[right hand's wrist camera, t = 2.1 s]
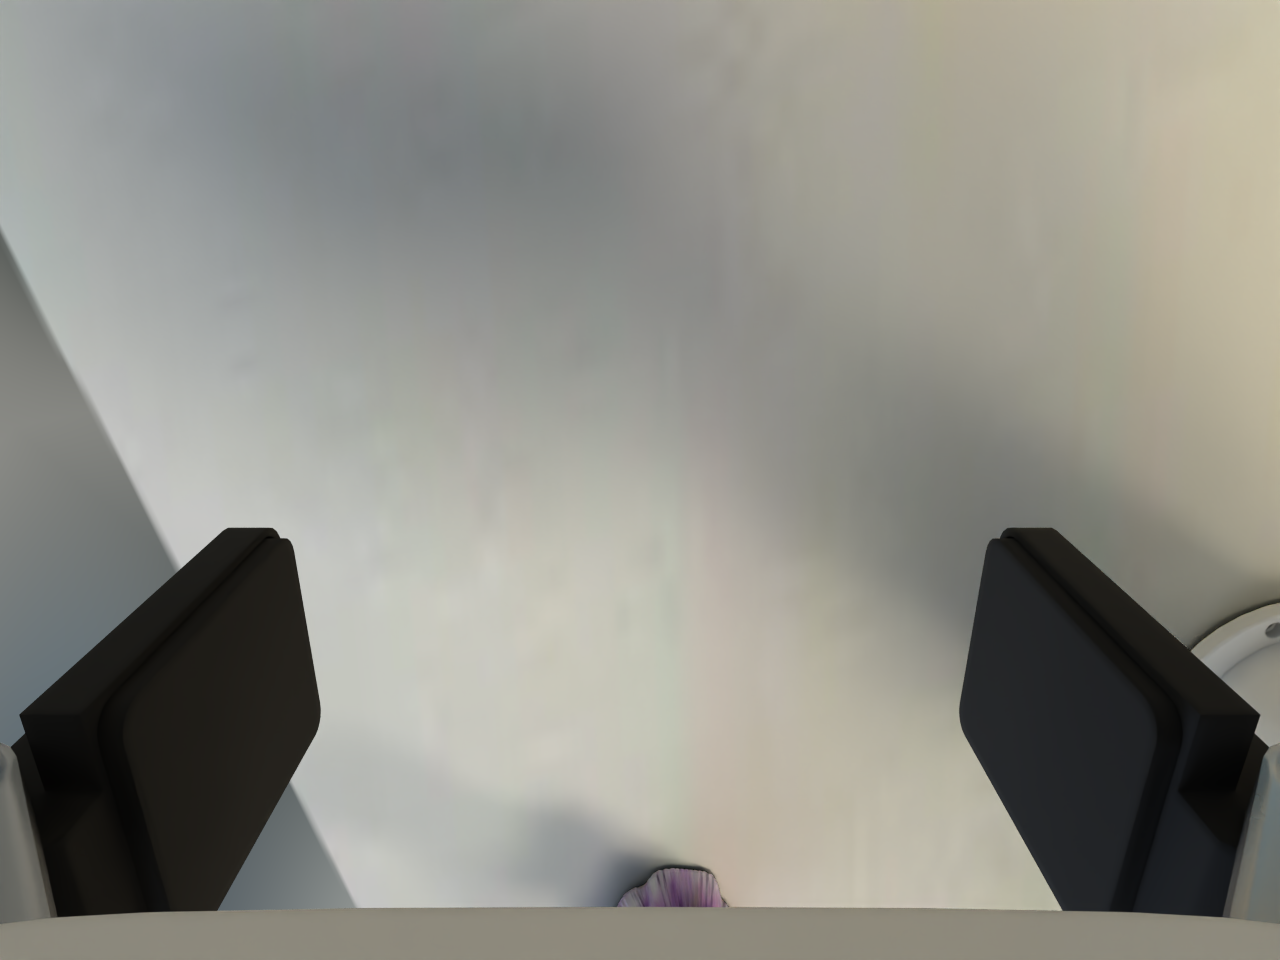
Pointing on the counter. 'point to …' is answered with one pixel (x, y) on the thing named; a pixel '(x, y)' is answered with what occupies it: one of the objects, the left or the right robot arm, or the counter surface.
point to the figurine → (675, 890)
